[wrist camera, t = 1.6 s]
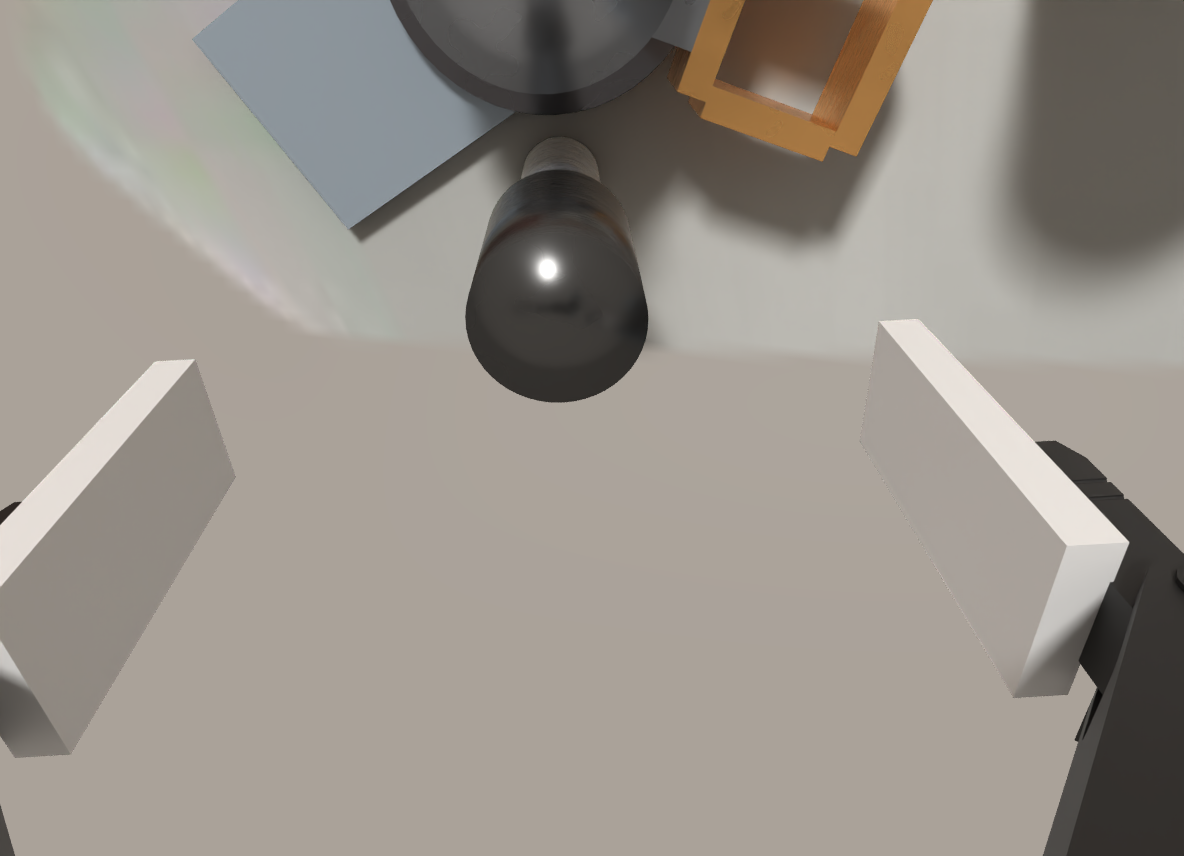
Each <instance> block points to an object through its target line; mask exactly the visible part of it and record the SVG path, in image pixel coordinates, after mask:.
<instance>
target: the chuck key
mask: <svg viewBox="0 0 1184 856" xmlns="http://www.w3.org/2000/svg"><path fill="white" fill-rule="evenodd" d="M465 318H466V329H467V334H468V339H469V342H470V344H471V347H472V350H473V352H474V354H475V355H476V357H477V359H478V361H479V362H480V363H481V364H482V366H483V368H484V369H485V370H486V371H487V372H488V373H489V374H490V375H491V376H492V377H493V378H494V379H495V380H496V381H497V382H499V383H500V384H502V385H503V386H504V387H506V388H507V389H509V390H511V391H513V392H515V393H517V394H519V395H522V396H524V397H527V398H530V399H534V400H539V401H545V402H571V401H577V400H582V399H586V398H588V397H591V396H594V395H597V394H599V393H601V392H603V391H605V390H606V389H608V388H609V387H611V386H613V385H614V384H615V383H617V382H618V381H619V380H620V379H621V378H622V377H623V376H624V375H625V374H626V373H627V372H628V371H629V370H630V369H631V367H632V366H633V365H634V363H635V362H636V360H637V359H638V357H639V355H640V353H641V351H642V348H643V345H644V343H645V339H646V335H647V330H648V309H647V304H646V299H645V294H644V290H643V285H642V281H641V276H640V272H639V267H638V263H637V258H636V254H635V249H634V245H633V240H632V236H631V231H630V227H629V222H628V219H627V216H626V214H625V211H624V209H623V207H622V206H621V204H620V202H619V201H618V200H617V198H616V197H615V196H614V194H613V193H612V192H611V191H610V190H609V189H608V188H607V187H605V186H604V185H603V184H602V183H600V177H599V170H598V166H597V163H596V160H595V158H594V156H593V155H592V153H591V152H590V151H589V149H588V148H587V147H585V146H584V145H583V144H582V143H580V142H578V141H576V140H574V139H571V138H567V137H553V138H549V139H546V140H544V141H542V142H540V143H539V144H538V145H536V146H535V147H534V148H533V149H532V150H531V151H530V153H529V154H528V156H527V158H526V160H525V163H524V166H523V171H522V176H521V180H519V181H518V182H516V183H515V184H514V185H512V186H511V187H510V188H509V189H508V190H507V191H506V192H505V193H504V194H503V195H502V197H501V198H500V199H499V201H498V202H497V204H496V206H495V208H494V209H493V212H492V214H491V217H490V220H489V223H488V227H487V231H486V234H485V238H484V242H483V245H482V249H481V252H480V256H479V260H478V263H477V267H476V270H475V274H474V278H473V281H472V285H471V289H470V292H469V296H468V301H467V305H466V316H465Z"/></svg>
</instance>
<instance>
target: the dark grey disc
mask: <svg viewBox="0 0 1184 856" xmlns="http://www.w3.org/2000/svg"><path fill="white" fill-rule="evenodd" d="M390 2H391V4H392V6H393V8H394V10H395V13H396V15H397V17H398V18H399V20H400V22H401V23H402V25H403V27H404V28H405V30H406V31H407V33H408V35H409V36H410V38H411V39H412V40H413V42H414V43H415V44H416V46H417V47H418V48H419V49H420V51H421V52H422V53H423V55H424V56H425V57H426V58H427V59H428V60H429V61H430V62H431V63H432V64H433V65H434V66H435V67H436V68H437V69H438V70H439V71H440V72H441V73H442V74H444V75H445V76H446V77H447V78H449V79H450V80H451V81H452V82H454V83H455V84H456V85H457V86H459V87H461V88H462V89H464V90H466V91H467V92H469V93H470V94H472V95H474V96H475V97H477V98H480V99H482V100H484V101H486V102H488V103H491V104H493V105H495V106H498V107H502V108H505V109H509V110H512V111H516V112H522V113H528V114H535V115H558V114H566V113H574V112H578V111H582V110H586V109H590V108H593V107H596V106H599V105H601V104H603V103H606V102H608V101H610V100H613V99H615V98H616V97H618V96H620V95H621V94H623V93H625V92H627V91H628V90H630V89H632V88H633V87H634V86H635V85H637V84H638V83H639V82H641V81H642V80H643V79H644V78H646V77H647V76H648V75H649V74H650V73H651V72H652V71H653V70H654V69H655V68H656V67H657V66H658V65H659V64H660V63H661V62H662V61H663V60H664V59H665V57H666V56H667V55H668V53H669V52H670V51H671V50H672V48H673V47H674V45H671V44H669V43H666V42H663V41H661V40H658V39H655V38H653V37H651V39H650V40H649V41H648V43H647V44H646V45H645V46H644V47H643V48H642V49H641V50H640V51H639V52H638V53H637V55H636V56H635V57H633V58H632V59H631V60H630V61H629V62H627V63H626V64H625V65H624V66H623V67H622V68H620V69H619V70H617V71H616V72H614V73H612V74H611V75H609V76H608V77H606V78H605V79H602V80H600V81H598V82H596V83H594V84H591V85H589V86H587V87H583V88H580V89H577V90H573V91H570V92H563V93H556V94H529V93H522V92H516V91H512V90H508V89H505V88H501V87H498V86H496V85H493V84H491V83H489V82H486V81H484V80H482V79H480V78H478V77H476V76H475V75H473V74H471V73H470V72H468V71H466V70H465V69H463V68H462V67H461V66H460V65H458V64H457V63H456V62H454V61H453V60H452V59H451V58H449V57H448V56H447V55H446V54H445V53H444V52H443V51H442V50H441V49H440V48H439V47H438V46H437V45H436V44H435V43H434V41H433V40H432V39H431V38H430V36H429V35H428V34H427V33H426V31H425V30H424V29H423V28H422V26H421V25H420V23H419V21H418V20H417V18H416V17H415V15H414V13H413V12H412V10H411V8H410V6H409V4H408V2H407V0H390Z"/></svg>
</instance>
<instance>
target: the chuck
mask: <svg viewBox="0 0 1184 856" xmlns="http://www.w3.org/2000/svg"><path fill="white" fill-rule="evenodd" d="M932 1H933V0H864V1H863V3H862V5H861V7H860V10H859V12H858V14H857V16H856V19H855V21H854V23H853V25H852V27H851V30H850V32H849V34H848V36H847V39H846V41H845V43H844V45H843V47H842V50H841V52H840V54H839V56H838V59H837V61H836V63H835V65H834V67H833V70H832V72H831V74H830V76H829V79H828V81H827V83H826V85H825V87H824V90H823V92H822V94H821V96H820V99H819V101H818V103H817V105H816V107H815V110H814V112H813V114H809V113H807V112H804V111H801V110H798V109H796V108H793V107H790V106H788V105H785V104H782V103H779V102H777V101H774V100H771V99H769V98H766V97H763V96H761V95H758V94H755V93H752V92H750V91H747V90H744V89H742V88H739V87H736V86H733V85H731V84H728V83H725V82H723V81H720V80H717V79H715V78H716V75H717V73H718V70H719V67H720V65H721V62H722V60H723V57H724V54H725V52H726V49H727V47H728V44H729V41H730V39H731V36H732V33H733V31H734V28H735V26H736V23H737V20H738V18H739V15H740V12H741V10H742V7H743V5H744V2H745V0H407V2H408V4H409V6H410V8H411V10H412V12H413V13H414V15H415V17H416V18H417V20H418V21H419V23H420V25H421V26H422V28H423V29H424V30H425V31H426V33H427V34H428V35H429V36H430V38H431V39H432V40H433V41H434V43H435V44H436V45H437V46H438V47H439V48H440V49H441V50H442V51H443V52H444V53H445V54H446V55H447V56H448V57H449V58H451V59H452V60H453V61H454V62H456V63H457V64H458V65H460V66H461V67H462V68H463V69H465V70H466V71H468V72H470V73H471V74H473V75H475V76H476V77H478V78H480V79H482V80H484V81H486V82H489V83H491V84H493V85H496V86H498V87H501V88H505V89H508V90H512V91H516V92H522V93H529V94H556V93H563V92H570V91H573V90H577V89H580V88H583V87H587V86H589V85H591V84H594V83H596V82H598V81H600V80H602V79H605V78H606V77H608V76H609V75H611V74H612V73H614V72H616V71H617V70H619V69H620V68H622V67H623V66H624V65H625V64H626V63H627V62H629V61H630V60H631V59H632V58H633V57H635V56H636V55H637V53H638V52H639V51H640V50H641V49H642V48H643V47H644V46H645V45H646V44H647V43H648V41H649V40H650V39H651V37H653V38H655V39H658V40H661V41H663V42H666V43H669V44H671V45H674V46H677V47H678V48H677V50H676V53H675V56H674V59H673V62H672V65H671V67H670V70H669V73H668V76H667V79H668V80H669V81H670V83H671V84H672V85H673V87H674V88H675V89H676V91H677V92H680V93H682V94H685V95H688V96H690V98H689V101H688V103H689V104H690V105H691V106H692V108H693V109H694V110H695V112H696V113H697V114H698V116H699V117H700V118H702V119H705V120H707V121H710V122H713V123H716V124H719V125H721V126H724V127H727V128H730V129H733V130H735V131H738V132H741V133H744V134H746V135H749V136H752V137H755V138H758V139H760V140H763V141H766V142H769V143H772V144H774V145H777V146H780V147H783V148H786V149H788V150H791V151H794V152H797V153H800V154H802V155H805V156H808V157H811V158H814V159H816V160H819V161H822V162H823V160H824V158H825V155H826V153H827V151H828V149H829V147H831V148H834V149H837V150H840V151H842V152H845V153H848V154H851V155H853V156H856V157H857V154H858V152H859V150H860V148H861V146H862V144H863V142H864V140H865V138H866V136H867V134H868V132H869V130H870V128H871V126H872V124H873V122H874V120H875V118H876V116H877V114H878V112H879V109H880V107H881V105H882V103H883V101H884V99H885V97H886V95H887V93H888V91H889V89H890V87H891V85H892V83H893V81H894V79H895V77H896V75H897V73H898V71H899V69H900V67H901V64H902V62H903V60H904V58H905V56H906V54H907V52H908V50H909V48H910V46H911V44H912V42H913V40H914V38H915V36H916V34H917V32H918V30H919V28H920V26H921V24H922V22H923V19H924V17H925V15H926V13H927V11H928V9H929V7H930V5H931V3H932Z"/></svg>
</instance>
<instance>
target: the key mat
mask: <svg viewBox="0 0 1184 856" xmlns="http://www.w3.org/2000/svg"><path fill="white" fill-rule="evenodd" d="M192 40H193V41H194V42H195V43H196V45H197V46H198V47H199V48H200V49H201V51H202V52H203V53H204V54H205V55H206V57H207V58H208V59H209V60H210V62H211V63H212V64H213V65H214V66H215V68H216V69H217V70H218V71H219V73H220V74H221V75H222V76H223V77H224V79H225V80H226V81H227V82H228V84H229V85H230V86H231V87H232V88H233V90H234V91H235V92H236V93H237V95H238V96H239V97H240V98H241V99H242V101H243V102H244V103H245V104H246V105H247V107H248V108H249V109H250V110H251V112H252V113H253V114H254V115H255V116H256V118H257V119H258V120H259V121H260V123H261V124H262V125H263V126H264V127H265V129H266V130H267V131H268V132H269V134H270V135H271V136H272V137H273V138H274V140H275V141H276V142H277V143H278V144H279V146H280V147H281V148H282V149H283V151H284V152H285V153H286V154H287V155H288V157H289V158H290V159H291V160H292V162H293V163H294V164H295V165H296V166H297V168H298V169H299V170H300V171H301V173H302V174H303V175H304V176H305V177H306V179H307V180H308V181H309V182H310V184H311V185H312V186H313V187H314V188H315V190H316V191H317V192H318V193H319V194H320V196H321V197H322V198H323V199H324V201H325V202H326V203H327V204H328V205H329V207H330V208H331V209H332V210H333V212H334V213H335V214H336V215H337V216H338V218H339V219H340V220H341V221H342V223H343V224H344V225H345V226H346V227H347V229H350V228H351V227H353V226H354V225H355V224H357V223H358V222H360V221H361V220H363V219H364V218H365V217H367V216H368V215H370V214H371V213H372V212H374V211H375V210H377V209H378V208H380V207H381V206H382V205H384V204H385V203H387V202H388V201H390V200H391V199H392V198H394V197H395V196H397V195H398V194H400V193H401V192H402V191H404V190H405V189H407V188H408V187H409V186H411V185H412V184H414V183H415V182H417V181H418V180H419V179H421V178H422V177H424V176H425V175H427V174H428V173H429V172H431V171H432V170H434V169H435V168H437V167H438V166H439V165H441V164H442V163H444V162H445V161H447V160H448V159H449V158H451V157H452V156H454V155H455V154H456V153H458V152H459V151H461V150H462V149H464V148H465V147H466V146H468V145H469V144H471V143H472V142H474V141H475V140H476V139H478V138H479V137H481V136H482V135H484V134H485V133H486V132H488V131H489V130H491V129H492V128H493V127H495V126H496V125H498V124H499V123H501V122H502V121H503V120H505V119H506V118H508V117H509V116H511V115H512V114H513V113H515V111H512V110H509V109H505V108H502V107H498V106H495V105H493V104H491V103H488V102H486V101H484V100H482V99H480V98H477V97H475V96H474V95H472V94H470V93H469V92H467V91H466V90H464V89H462V88H461V87H459V86H457V85H456V84H455V83H454V82H452V81H451V80H450V79H449V78H447V77H446V76H445V75H444V74H442V73H441V72H440V71H439V70H438V69H437V68H436V67H435V66H434V65H433V64H432V63H431V62H430V61H429V60H428V59H427V58H426V57H425V56H424V55H423V53H422V52H421V51H420V49H419V48H418V47H417V46H416V44H415V43H414V42H413V40H412V39H411V38H410V36H409V35H408V33H407V31H406V30H405V28H404V27H403V25H402V23H401V22H400V20H399V18H398V17H397V15H396V13H395V10H394V8H393V6H392V4H391V2H390V0H238V1H237V2H236V3H234V4H233V5H232V6H231V7H230V8H228V9H227V10H226V11H225V12H224V13H222V14H221V15H220V16H219V17H218V18H217V19H215V20H214V21H213V22H212V23H211V24H209V25H208V26H207V27H206V28H205V29H203V30H202V31H201V32H200V33H199V34H198V35H196V36H195V37H194V38H193V39H192Z"/></svg>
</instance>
